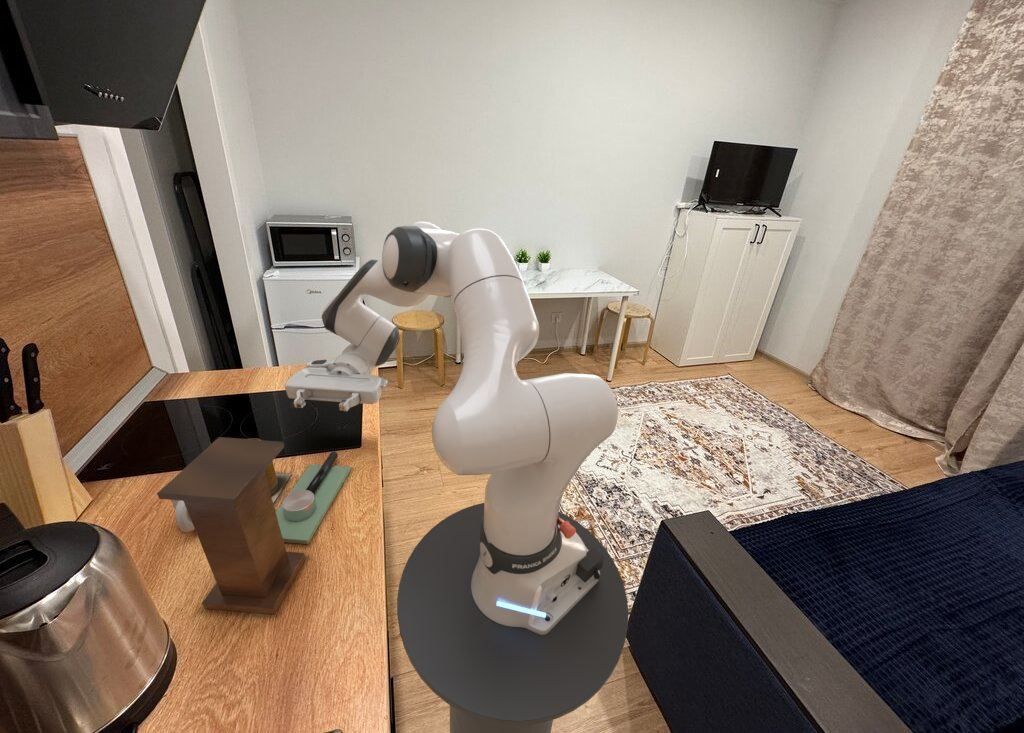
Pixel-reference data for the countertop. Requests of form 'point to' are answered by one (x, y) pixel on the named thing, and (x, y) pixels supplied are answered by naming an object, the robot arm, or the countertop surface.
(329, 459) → the measuring scoop
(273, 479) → the condiment
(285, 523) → the mat
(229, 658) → the countertop surface
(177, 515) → the cup
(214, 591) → the stand
